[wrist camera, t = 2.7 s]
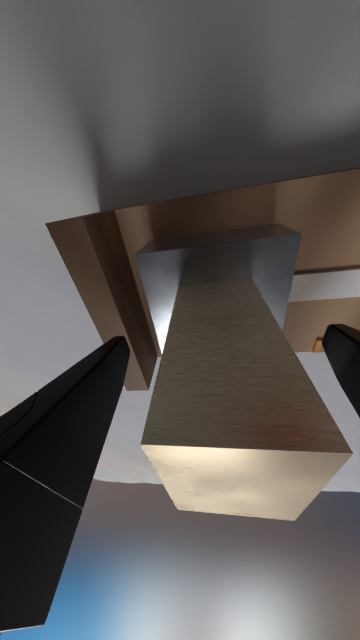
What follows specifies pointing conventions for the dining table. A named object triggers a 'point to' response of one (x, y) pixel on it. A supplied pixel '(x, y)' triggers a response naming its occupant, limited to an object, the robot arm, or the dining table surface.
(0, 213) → the dining table surface
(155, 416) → the handle
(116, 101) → the dining table surface
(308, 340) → the base
